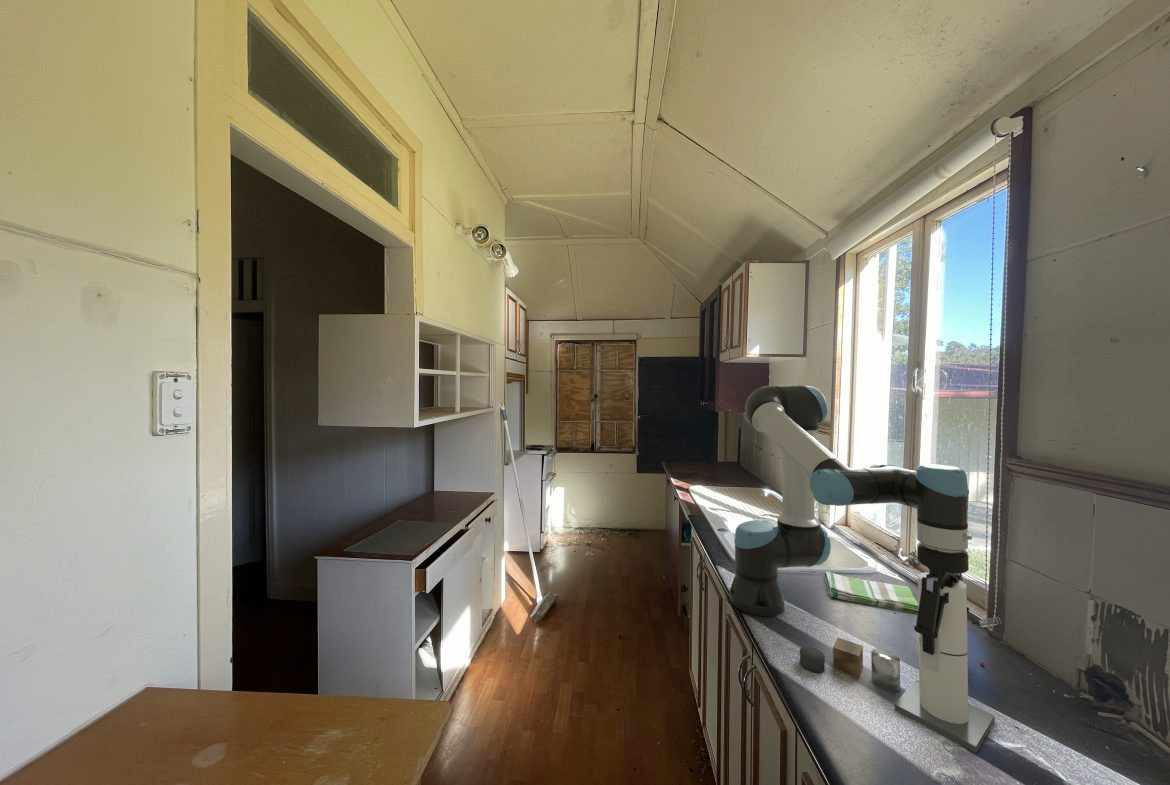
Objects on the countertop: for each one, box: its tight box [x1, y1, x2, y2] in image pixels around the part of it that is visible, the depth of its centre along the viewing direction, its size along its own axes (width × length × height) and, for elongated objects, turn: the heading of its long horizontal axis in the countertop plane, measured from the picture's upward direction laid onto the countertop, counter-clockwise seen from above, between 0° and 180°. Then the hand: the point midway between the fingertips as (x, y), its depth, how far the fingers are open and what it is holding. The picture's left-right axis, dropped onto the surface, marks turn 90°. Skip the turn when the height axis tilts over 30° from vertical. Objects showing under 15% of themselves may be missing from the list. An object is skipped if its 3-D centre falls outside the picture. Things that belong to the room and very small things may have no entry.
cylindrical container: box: [917, 572, 969, 724], centre depth 80 cm, size 7×7×25 cm
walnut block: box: [832, 636, 864, 679], centre depth 94 cm, size 5×5×5 cm
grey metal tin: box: [870, 648, 901, 693], centre depth 89 cm, size 5×5×6 cm
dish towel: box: [824, 571, 918, 615], centre depth 128 cm, size 17×23×4 cm
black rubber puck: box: [799, 646, 826, 674], centre depth 95 cm, size 5×5×3 cm
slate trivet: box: [893, 679, 996, 754], centre depth 80 cm, size 12×12×1 cm
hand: (942, 655), depth 80 cm, fingers open, 13 cm apart
